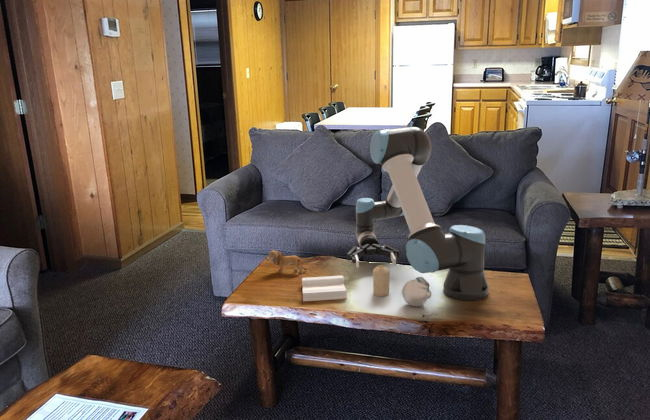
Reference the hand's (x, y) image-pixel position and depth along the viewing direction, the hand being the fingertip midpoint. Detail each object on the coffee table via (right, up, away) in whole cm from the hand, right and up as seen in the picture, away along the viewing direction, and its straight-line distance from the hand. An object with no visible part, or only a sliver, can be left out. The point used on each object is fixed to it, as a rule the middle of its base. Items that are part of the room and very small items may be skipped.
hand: (376, 263), depth 196 cm
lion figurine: (-34, -5, +15) cm, 37 cm away
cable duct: (-19, -10, -5) cm, 22 cm away
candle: (+1, -10, -8) cm, 12 cm away
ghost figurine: (+12, -12, -18) cm, 24 cm away
